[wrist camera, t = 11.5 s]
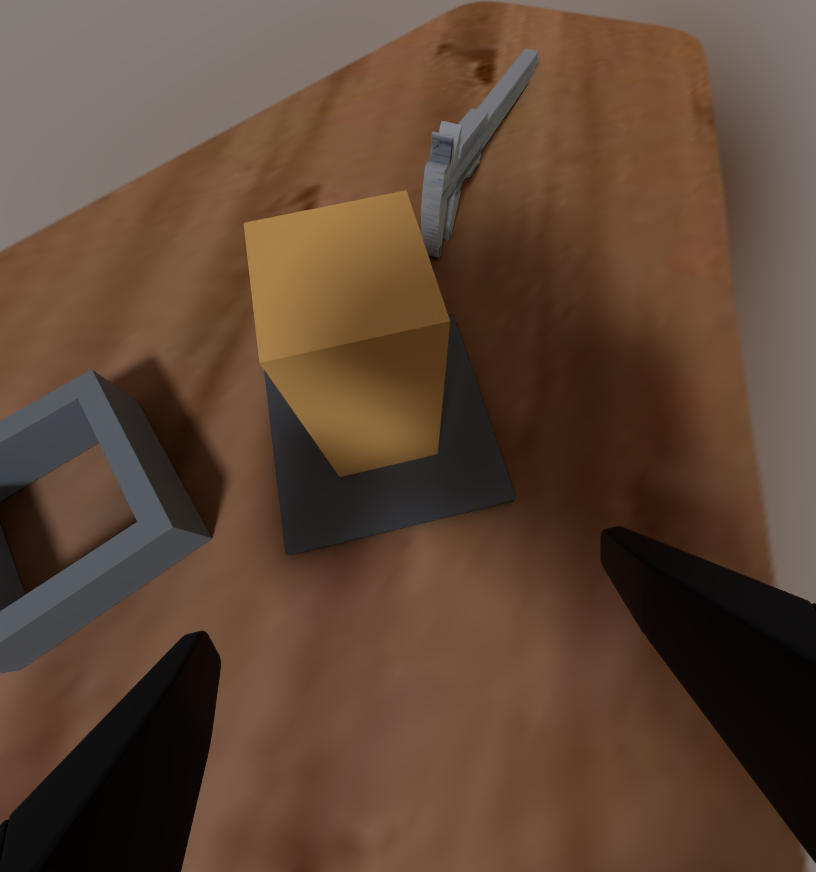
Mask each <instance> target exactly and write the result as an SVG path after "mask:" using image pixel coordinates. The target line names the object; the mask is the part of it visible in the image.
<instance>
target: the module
mask: <svg viewBox="0 0 816 872" xmlns="http://www.w3.org/2000/svg"><path fill="white" fill-rule="evenodd" d="M244 230H245V239H246V248H247V256H248V265H249V274H250V283H251V292H252V300H253V309H254V318H255V327H256V335H257V344H258V353H259V362H260V364H261V366H262V367H263V368H264V370H265V371H266V373H267V374H268V376H269V377H270V378H271V380H272V381H273V383H274V384H275V386H276V387H277V388H278V390H279V391H280V393H281V394H282V396H283V397H284V398H285V400H286V401H287V403H288V404H289V405H290V407H291V408H292V410H293V411H294V413H295V414H296V415H297V417H298V418H299V420H300V421H301V423H302V424H303V425H304V427H305V428H306V430H307V431H308V433H309V434H310V435H311V437H312V438H313V440H314V441H315V443H316V444H317V445H318V447H319V448H320V450H321V451H322V453H323V454H324V455H325V457H326V458H327V460H328V461H329V463H330V464H331V465H332V467H333V468H334V470H335V471H336V473H337V474H338V475H339V477H342V476H347V475H351V474H355V473H359V472H364V471H368V470H372V469H376V468H381V467H385V466H389V465H393V464H398V463H402V462H406V461H410V460H415V459H419V458H423V457H427V456H432V455H436V454H438V446H439V435H440V424H441V414H442V403H443V392H444V382H445V371H446V360H447V349H448V339H449V328H450V319H449V316H448V313H447V310H446V307H445V304H444V301H443V298H442V295H441V292H440V289H439V286H438V283H437V280H436V277H435V274H434V271H433V268H432V265H431V262H430V259H429V256H428V253H427V250H426V247H425V244H424V241H423V238H422V235H421V232H420V229H419V226H418V223H417V220H416V217H415V214H414V211H413V208H412V205H411V202H410V199H409V196H408V193H407V190H406V191H401V192H396V193H391V194H386V195H381V196H376V197H371V198H366V199H361V200H356V201H351V202H346V203H341V204H336V205H331V206H326V207H321V208H316V209H311V210H306V211H301V212H296V213H291V214H286V215H281V216H276V217H271V218H266V219H261V220H256V221H251V222H246V223H244Z"/></svg>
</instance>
